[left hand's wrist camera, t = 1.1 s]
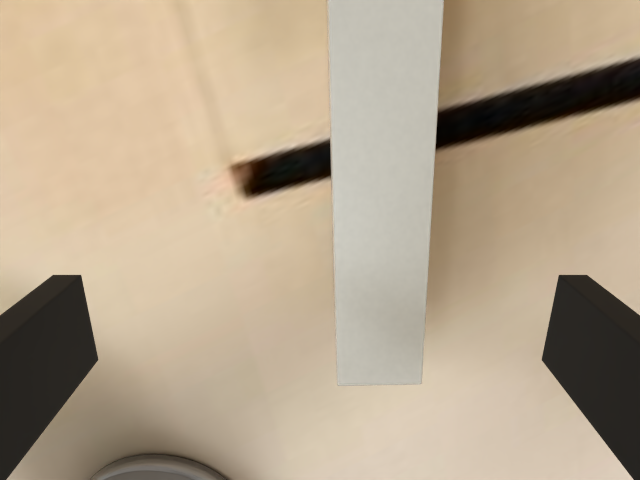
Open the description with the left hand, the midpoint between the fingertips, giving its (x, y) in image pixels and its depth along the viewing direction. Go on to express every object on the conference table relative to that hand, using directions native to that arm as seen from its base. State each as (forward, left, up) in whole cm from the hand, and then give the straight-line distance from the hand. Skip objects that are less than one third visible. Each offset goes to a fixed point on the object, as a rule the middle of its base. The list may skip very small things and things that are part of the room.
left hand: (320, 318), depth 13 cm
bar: (+18, +5, -18) cm, 26 cm away
